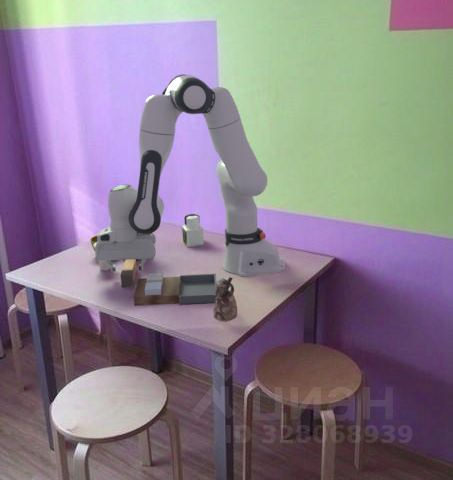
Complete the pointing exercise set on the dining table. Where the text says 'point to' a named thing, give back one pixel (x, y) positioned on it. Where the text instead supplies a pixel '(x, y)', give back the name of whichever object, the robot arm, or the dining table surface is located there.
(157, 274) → the tile
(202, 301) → the tray
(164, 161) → the robot arm
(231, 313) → the figurine
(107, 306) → the dining table surface
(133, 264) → the two-tone eraser block
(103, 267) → the smoothie
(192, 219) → the medicine bottle
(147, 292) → the tile
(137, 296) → the brown wooden square board
